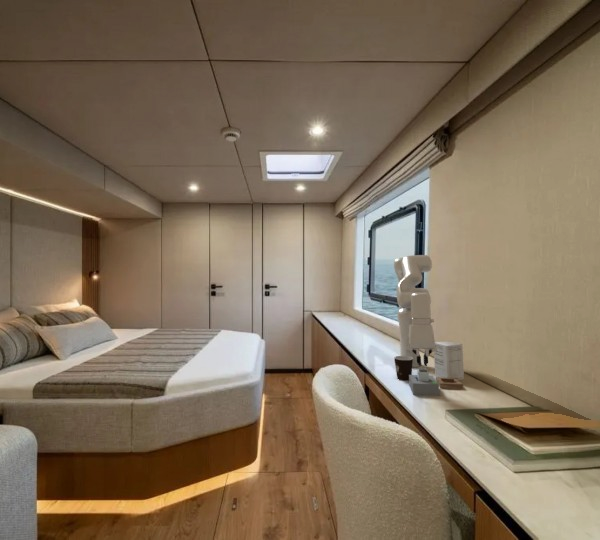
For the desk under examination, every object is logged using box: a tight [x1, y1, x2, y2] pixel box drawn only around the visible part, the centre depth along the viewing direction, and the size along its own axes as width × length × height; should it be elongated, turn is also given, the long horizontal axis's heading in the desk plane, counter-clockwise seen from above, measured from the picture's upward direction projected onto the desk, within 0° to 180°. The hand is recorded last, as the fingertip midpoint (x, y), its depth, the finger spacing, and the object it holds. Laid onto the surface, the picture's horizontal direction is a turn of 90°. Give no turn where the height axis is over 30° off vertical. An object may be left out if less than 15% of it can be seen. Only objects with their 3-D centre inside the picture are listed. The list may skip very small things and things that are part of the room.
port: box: [408, 374, 440, 397], centre depth 136 cm, size 12×10×5 cm
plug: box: [416, 367, 429, 382], centre depth 136 cm, size 4×4×9 cm
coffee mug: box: [394, 355, 413, 381], centre depth 155 cm, size 12×9×10 cm
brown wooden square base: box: [435, 376, 464, 390], centre depth 141 cm, size 9×9×2 cm
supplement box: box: [433, 340, 465, 381], centre depth 153 cm, size 10×9×17 cm
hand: (422, 364), depth 136 cm, fingers closed
